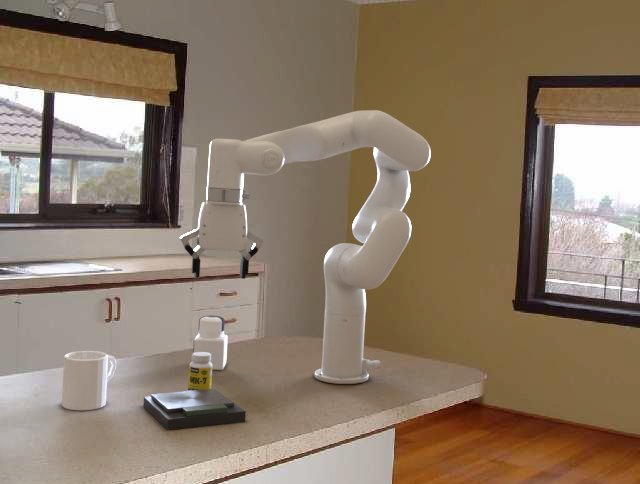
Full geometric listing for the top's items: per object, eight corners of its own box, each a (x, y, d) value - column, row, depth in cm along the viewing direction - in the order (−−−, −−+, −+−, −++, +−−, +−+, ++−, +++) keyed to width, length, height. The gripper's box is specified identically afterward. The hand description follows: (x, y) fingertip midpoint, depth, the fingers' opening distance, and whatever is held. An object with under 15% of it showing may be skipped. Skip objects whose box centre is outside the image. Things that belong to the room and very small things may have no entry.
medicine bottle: (196, 362, 213) (199, 313, 212) (226, 363, 213) (228, 314, 213) (192, 369, 206) (194, 318, 205) (222, 370, 206) (225, 319, 206)
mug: (129, 400, 177) (131, 351, 177) (82, 413, 167) (84, 362, 166) (100, 393, 181) (103, 345, 181) (52, 405, 171) (55, 355, 170)
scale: (216, 399, 181) (216, 385, 181) (245, 421, 168) (246, 406, 168) (143, 406, 173) (144, 391, 173) (167, 430, 160) (168, 413, 160)
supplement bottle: (185, 395, 183) (187, 355, 183) (190, 389, 188) (192, 350, 188) (208, 396, 183) (210, 356, 183) (213, 390, 188) (215, 352, 188)
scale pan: (214, 392, 180) (214, 388, 179) (234, 406, 170) (234, 402, 170) (151, 398, 173) (151, 394, 173) (167, 413, 163) (168, 408, 163)
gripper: (261, 198, 193) (256, 275, 193) (181, 193, 187) (176, 273, 188) (268, 200, 186) (263, 280, 186) (184, 195, 180) (179, 278, 181)
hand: (219, 277), depth 187 cm, fingers open, 9 cm apart
